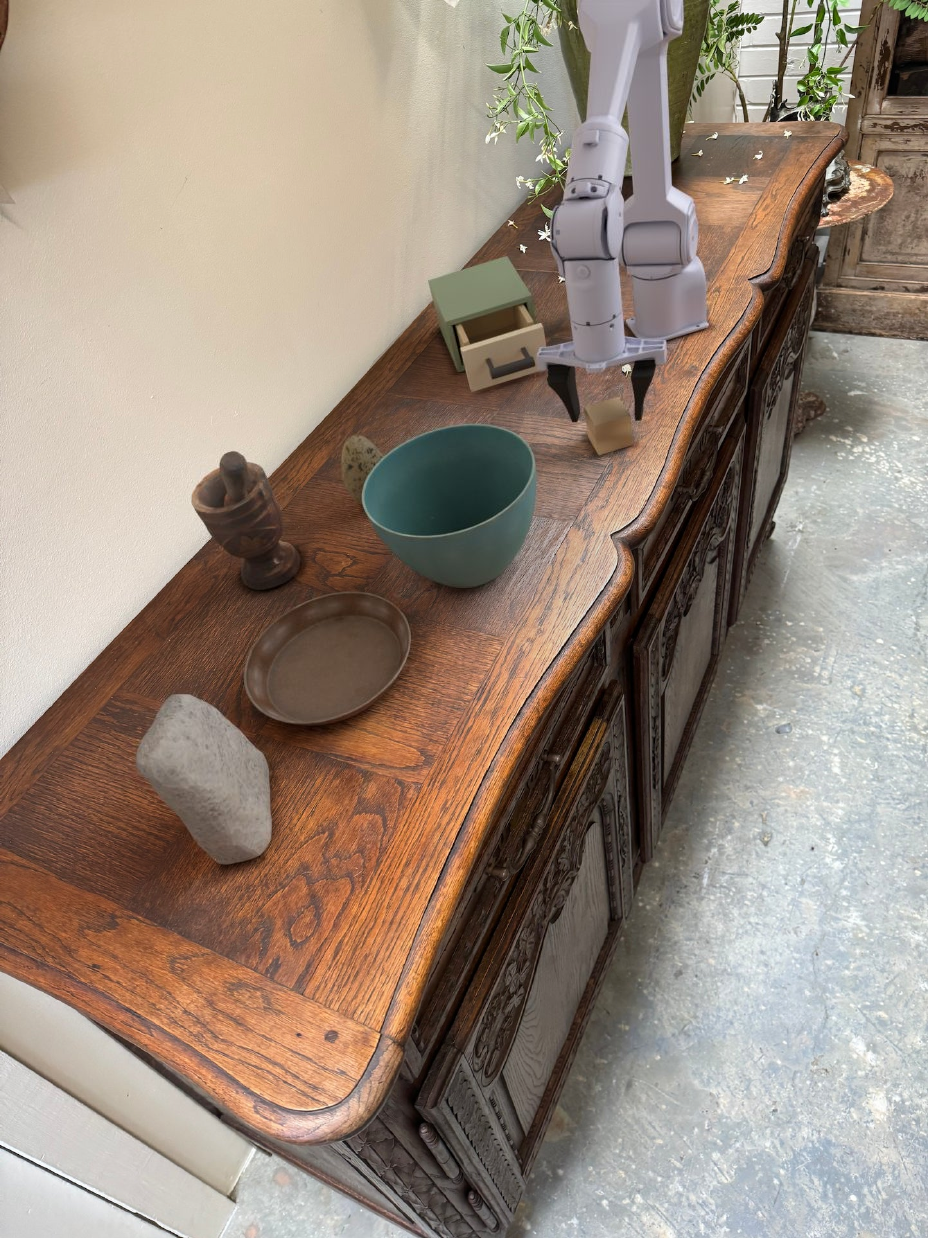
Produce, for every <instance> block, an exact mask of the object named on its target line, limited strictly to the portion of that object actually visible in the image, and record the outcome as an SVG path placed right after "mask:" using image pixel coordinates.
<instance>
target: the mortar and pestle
mask: <svg viewBox="0 0 928 1238" xmlns="http://www.w3.org/2000/svg"><path fill="white" fill-rule="evenodd" d="M218 465H219V467H217V468H216V469H213V470H212V471H211V472H209V473H208V474H207V475H205V476H204V477H203V478H202V479H201V481H199V482H198V483H197V484H196V485H195V488H194V490H193V491H192V494H191V505H192V507H193V509H194V511H195V513H196V514H197V516H198V517H199V519H200V520H201V521H202V522H203V524H204V526H205V528H206V530H207V531H208V534H209V535H210V537H212V539H213V540H214V541H215V543H216V544H217V545H219V547H220V548H222V549H223V550H224V551H226V553H228V554H229V555H230V556H233V557H235V558H237V559H238V558H239V559H242V560H241V566H240V573H241V579H242V582H243V584H244V585H245V586H246V587H248V588H249V589H252V590H255V591H264V590H268V589H272V588H275V587H278V586H281V585H285V584H286V583H287V582H289V581H291V579H292V578H293V577H295V576H296V575H297V573H298V572H299V569H300V566H301V556H300V554H299V552H298V550H297V549H296V548H295V547H294V546H293V545H292V544H291V543H288V542H287V541H282V540H281V538H282V536H283V533H284V521H283V515H282V510H281V507H280V503H279V501H278V499H277V497H276V494H275V493H274V490H273V488H272V485H271V483H270V480H269V477H268V476H267V474H266V472H265V470H264V468H263V467H262V466H261V465H260V464H257V463H255V462H250V461H247V459H246V457H245V456H244V455H243V454H241V453H240V452H238V451H235V450H232V451H228V452H226V453H224V454H223V455H222V456H221V458H220V460H219V464H218Z"/></svg>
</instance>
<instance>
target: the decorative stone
mask: <svg viewBox="0 0 928 1238" xmlns="http://www.w3.org/2000/svg"><path fill="white" fill-rule="evenodd" d="M134 762H135V767H136V769H137V771H138V773H139V774H140V776H141V777H142V778H143V779H145V780H146V781H147V782H148V783H149V785H150V786H151V787H152V789H153V790H154V791H155V792H156V794H157V795H158V796H159V798H161V800H162V801H163V802H164V803H165V804H166V805H167V806H168V808H169V809H171V810H172V811H173V812H174V813H175V814H176V815H177V816H178V818H179V819H180V820H181V821H182V823H183V825H184V826H185V828H186V829H187V831H188V832H189V833H190V835H191V836H192V838H193V840H194V841H195V842H196V844H197V846H199V847H200V848H201V849H202V850H203V851H205V853H207V854H208V855H209V857H210V858H211V859H213V860H214V859H220V860H214V861H215V862H216V863H217V864H218V865H231V864H237V863H242V862H245V861H249V860H253V859H255V858H257V857H259V856H261V855H262V854H263V853H264V852H265V850H266V849H267V848H268V847H269V845H270V843H271V840H272V831H273V830H272V829H273V828H272V827H273V818H272V811H271V787H270V786H271V785H270V769H269V764H268V762H267V759H266V757H265V755H264V753H263V752H262V751H261V750H259V749H258V748H257V747H256V746H255V745H254V744H253V743H252V742H251V741H250V739H248V738H247V737H246V735H245V734H244V733H243V732H242V731H241V730H240V729H239V728H238V727H236V726H235V725H234V724H233V723H232V722H231V721H230V720H229V719H228V718H226V717H225V715H223V714H222V712H221V711H219V710H218V709H217V708H216V707H215V706H213V705H212V704H210V703H208V702H206V701H205V700H203V699H200V698H199V697H196V696H194V695H192V694H187V693H186V694H184V693H180V694H179V693H178V694H176V693H174V694H171V695H170V696H168V697H167V698H166V699H165V701H164V702H163V703H162V705H161V706H160V708H159V710H158V711H157V712H156V715H155V718H154V721H153V722H152V724H151V726H150V727H149V728H148V730H147V731H146V733H145V734H144V735H143V737H142V738H141V741H140V742H139V745H138V747H137V750H136V754H135V761H134ZM221 859H222V860H221ZM224 859H227V860H224Z"/></svg>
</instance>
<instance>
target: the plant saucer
mask: <svg viewBox="0 0 928 1238" xmlns="http://www.w3.org/2000/svg"><path fill="white" fill-rule="evenodd" d="M411 642H412V633H411V628H410V623H409V622H408V619H407V618H406V616H405V614H404V613H403V611H402V610H401V609H400V608H399V607H398V606H397V605H396V604H394V603H393V602H392V601H390V600H388V599H386V598H385V597H382V596H379V595H377V594H375V593H370V592H364V591H341V592H333V593H328V594H324V595H321V596H318V597H314V598H311V599H309V600H306V601H304V602H302V603H300V604H298V605H296V606H294V607H293V608H290V609H289V610H287V611H286V612H285V613H282V615H280V616H279V617H278V618H277V619H275V620H274V621H273V622H272V623H270V625H269V626H268V627H267V628H266V629H265V630H264V631H262V633H261V634H260V636H259V637H258V638H257V639H256V641H255V643H254V644H253V646H252V647H251V649H250V651H249V653H248V655H247V658H246V662H245V664H244V665H245V666H244V669H243V684H244V689H245V692H246V695H247V697H248V699H249V701H250V703H252V705H253V706H254V707H255V708H256V709H257V710H258V711H260V712H261V713H262V714H264V715H265V716H267V717H269V718H271V719H274V720H276V721H279V722H282V723H285V724H291V725H296V726H322V725H328V724H334V723H338V722H341V721H345V720H348V719H349V718H352V717H354V716H356V715H358V714H360V713H362V712H363V711H365V710H367V709H369V708H370V707H371V706H373V705H374V704H375V703H376V702H377V701H379V700H380V699H381V698H382V697H383V696H384V695H385V694H386V693H387V692H388V690H390V688H391V687H392V685H394V683H395V682H396V680H397V678H399V676H400V674H401V672H402V670H403V669H404V666H405V664H406V662H407V659H408V657H409V653H410V649H411V644H412V643H411Z"/></svg>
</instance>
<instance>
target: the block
mask: <svg viewBox="0 0 928 1238" xmlns="http://www.w3.org/2000/svg"><path fill="white" fill-rule="evenodd" d="M583 411H584V416H585V417H584V420H585V427H586V433H587V438H588V440H589V441H590V444H591V445H592V447H593V448H594V450H595V452H596V454H597V455H598V456H603V455H605V454H608V453H612V452H615V451H618V450H622V449H624V448H629V447H631V446H634V441H633V431H632V418H631V414H630V412H629V411H628V409H627V407H626V406H625V405H624V403H623V402H622V400H621V399H620V397H619V396H616V397H613V398H609V399H605V400H603V401H600V402H597V403H593V404H589V405H587V406H584V407H583Z"/></svg>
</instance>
